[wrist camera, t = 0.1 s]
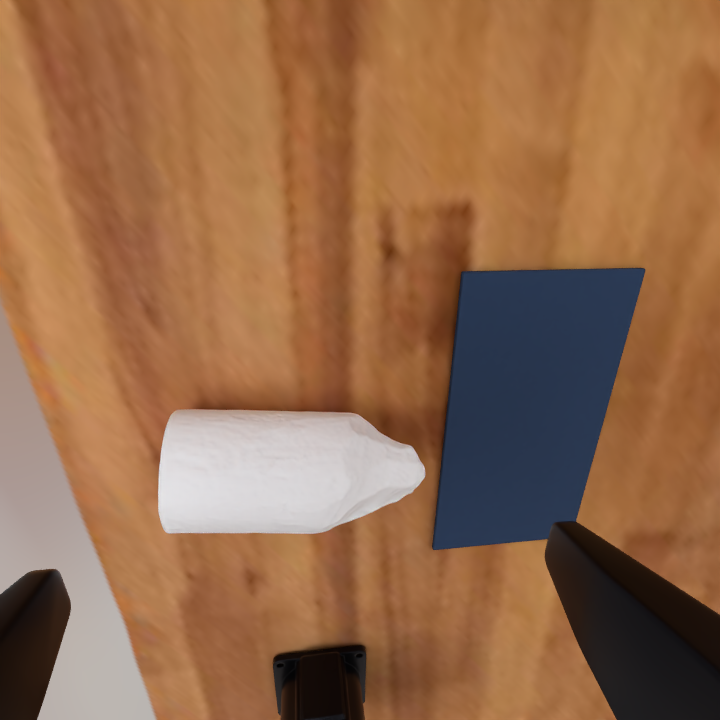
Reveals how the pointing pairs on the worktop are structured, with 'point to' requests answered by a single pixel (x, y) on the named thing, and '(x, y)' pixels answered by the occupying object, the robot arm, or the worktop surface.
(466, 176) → the worktop surface
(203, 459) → the white tapered cylinder
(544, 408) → the cloth
